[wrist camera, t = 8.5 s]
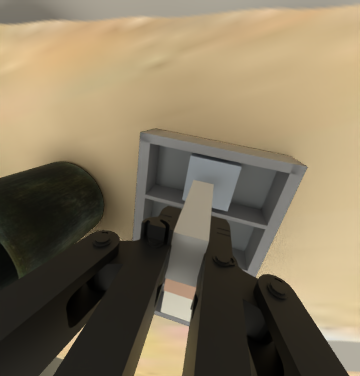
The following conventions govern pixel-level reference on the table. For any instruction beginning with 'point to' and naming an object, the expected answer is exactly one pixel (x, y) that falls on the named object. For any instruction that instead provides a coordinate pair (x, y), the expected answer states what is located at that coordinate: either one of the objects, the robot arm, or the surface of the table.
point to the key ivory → (176, 306)
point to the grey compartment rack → (241, 200)
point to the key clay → (179, 289)
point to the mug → (44, 216)
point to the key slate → (213, 177)
